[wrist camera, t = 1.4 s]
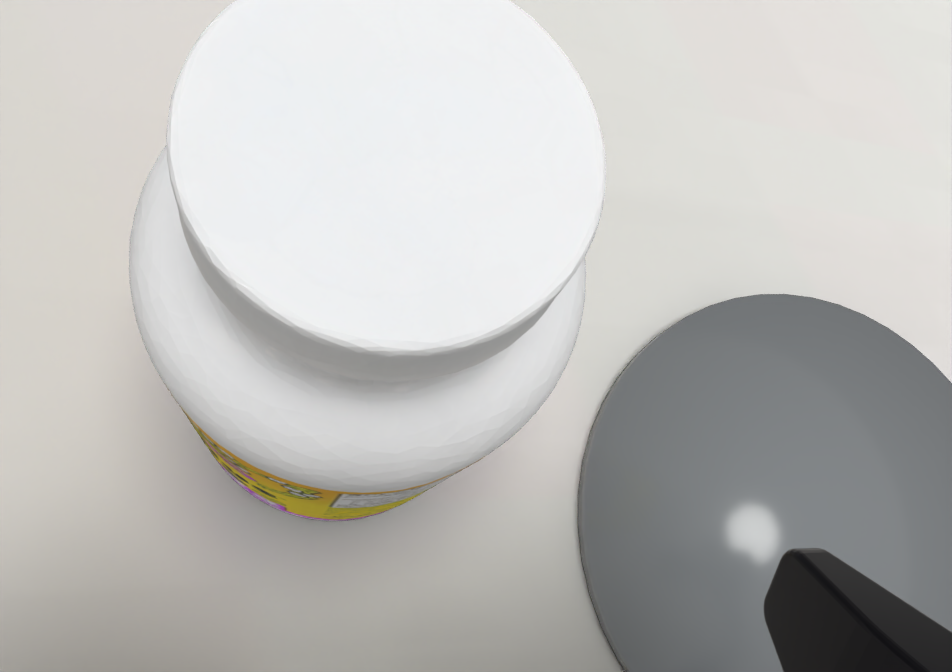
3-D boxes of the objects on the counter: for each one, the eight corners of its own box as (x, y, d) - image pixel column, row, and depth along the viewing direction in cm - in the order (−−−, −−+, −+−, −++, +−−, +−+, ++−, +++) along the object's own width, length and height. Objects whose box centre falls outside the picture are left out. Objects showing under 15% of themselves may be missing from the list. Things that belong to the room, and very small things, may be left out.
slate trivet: (1085, 650, 23) (1104, 651, 22) (716, 894, 19) (729, 904, 19) (868, 246, 25) (881, 239, 25) (499, 390, 21) (505, 385, 21)
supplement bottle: (166, 305, 20) (-18, -92, 8) (416, 241, 22) (564, -157, 10) (242, 567, 19) (156, 554, 7) (500, 474, 21) (786, 338, 9)
